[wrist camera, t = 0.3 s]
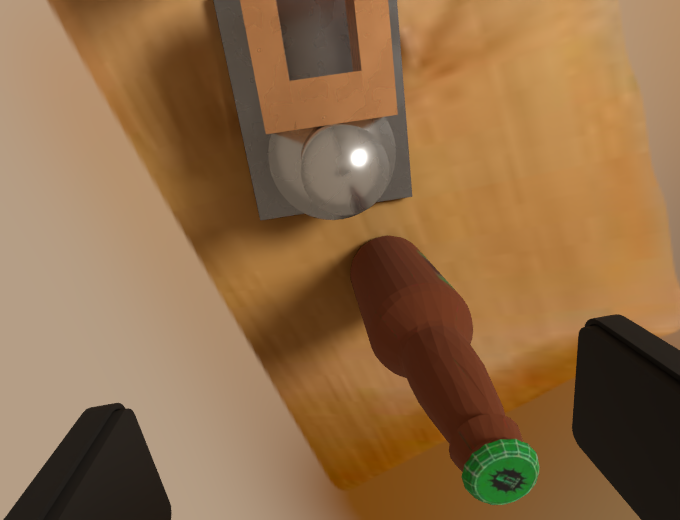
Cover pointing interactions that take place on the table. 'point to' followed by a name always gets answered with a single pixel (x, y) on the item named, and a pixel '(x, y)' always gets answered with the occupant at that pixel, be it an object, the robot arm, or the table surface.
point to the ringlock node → (318, 103)
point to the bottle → (441, 365)
